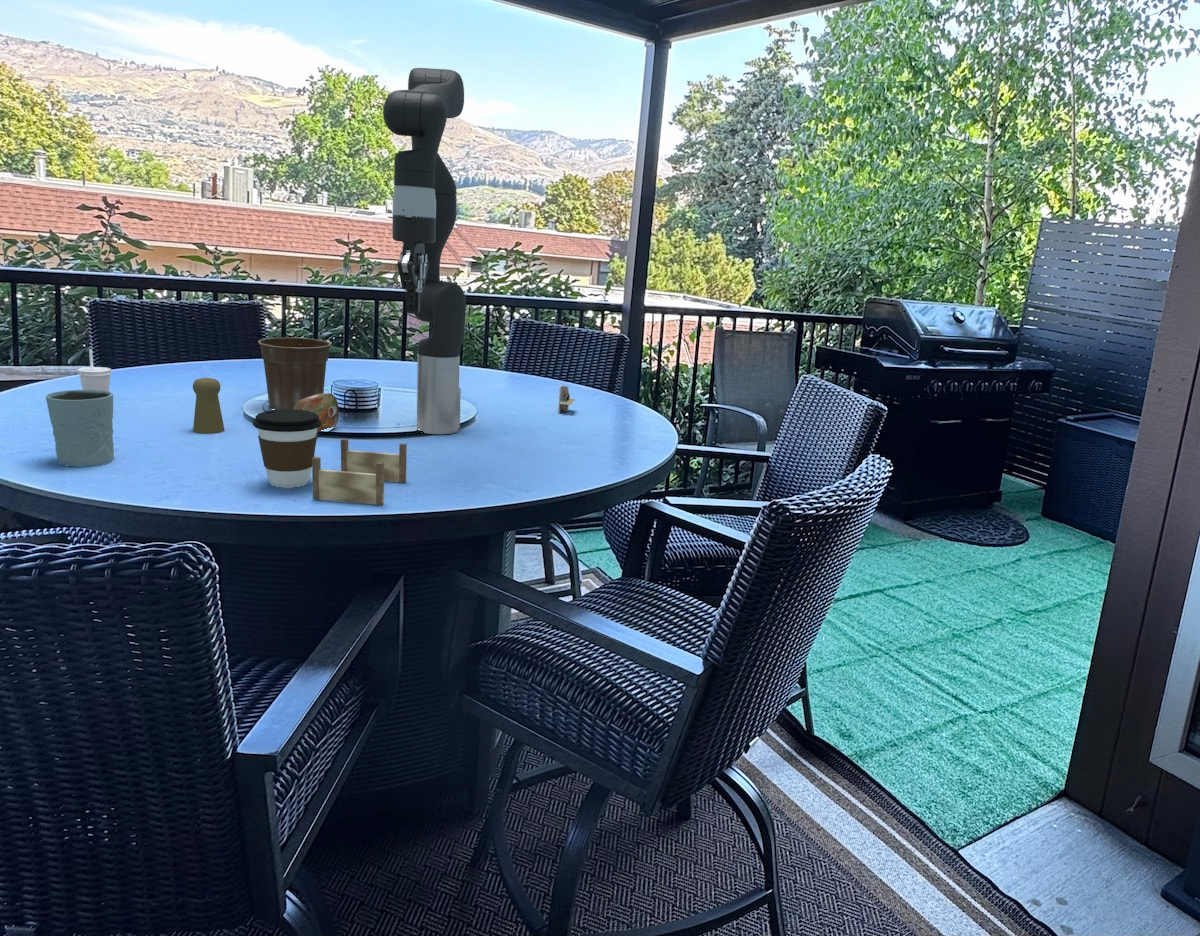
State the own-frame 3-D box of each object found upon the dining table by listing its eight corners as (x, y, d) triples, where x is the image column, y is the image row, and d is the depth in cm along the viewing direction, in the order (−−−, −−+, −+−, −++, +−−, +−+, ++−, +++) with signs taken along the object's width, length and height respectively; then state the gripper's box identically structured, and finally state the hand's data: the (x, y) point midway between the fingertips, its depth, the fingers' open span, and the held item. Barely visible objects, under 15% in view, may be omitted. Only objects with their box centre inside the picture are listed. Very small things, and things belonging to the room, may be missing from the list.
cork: (231, 430, 179) (228, 378, 176) (207, 435, 173) (204, 382, 170) (210, 425, 181) (207, 375, 178) (186, 430, 176) (183, 378, 173)
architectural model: (573, 412, 225) (575, 384, 223) (570, 417, 218) (572, 389, 216) (561, 411, 225) (562, 383, 223) (557, 416, 218) (558, 388, 217)
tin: (304, 442, 173) (303, 402, 171) (290, 440, 174) (289, 400, 172) (340, 428, 187) (340, 390, 185) (327, 426, 188) (326, 389, 186)
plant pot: (340, 414, 201) (340, 346, 197) (270, 417, 192) (267, 347, 188) (320, 401, 214) (319, 337, 210) (253, 404, 205) (250, 337, 201)
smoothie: (74, 413, 183) (68, 348, 179) (101, 408, 189) (95, 346, 185) (95, 417, 181) (89, 352, 177) (121, 412, 187) (116, 349, 183)
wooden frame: (406, 481, 152) (406, 443, 150) (382, 505, 138) (382, 464, 136) (343, 476, 152) (342, 438, 150) (312, 499, 138) (312, 458, 136)
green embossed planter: (70, 471, 144) (64, 402, 140) (40, 460, 149) (33, 392, 146) (130, 460, 152) (125, 395, 149) (99, 450, 157) (93, 386, 154)
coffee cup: (240, 485, 143) (237, 415, 140) (287, 471, 153) (285, 406, 150) (290, 496, 139) (289, 425, 136) (335, 481, 149) (335, 414, 146)
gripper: (403, 214, 156) (402, 309, 160) (382, 211, 143) (381, 314, 148) (444, 217, 156) (441, 312, 160) (425, 214, 143) (424, 318, 147)
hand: (413, 313), depth 154 cm, fingers closed
